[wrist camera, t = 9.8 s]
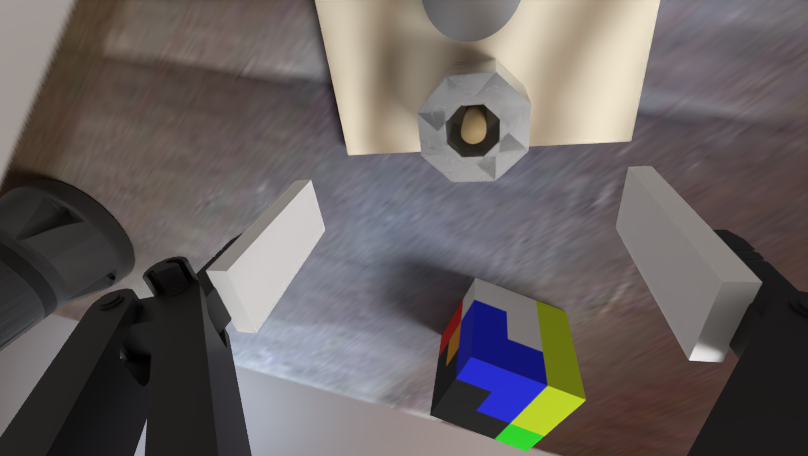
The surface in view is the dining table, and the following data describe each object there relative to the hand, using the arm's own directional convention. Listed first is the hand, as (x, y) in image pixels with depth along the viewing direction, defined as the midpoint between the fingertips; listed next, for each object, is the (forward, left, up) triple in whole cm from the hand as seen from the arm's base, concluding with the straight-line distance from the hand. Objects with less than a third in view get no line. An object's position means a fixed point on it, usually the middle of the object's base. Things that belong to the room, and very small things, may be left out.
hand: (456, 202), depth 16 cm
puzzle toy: (+2, -24, -16) cm, 29 cm away
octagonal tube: (0, 0, -15) cm, 15 cm away
